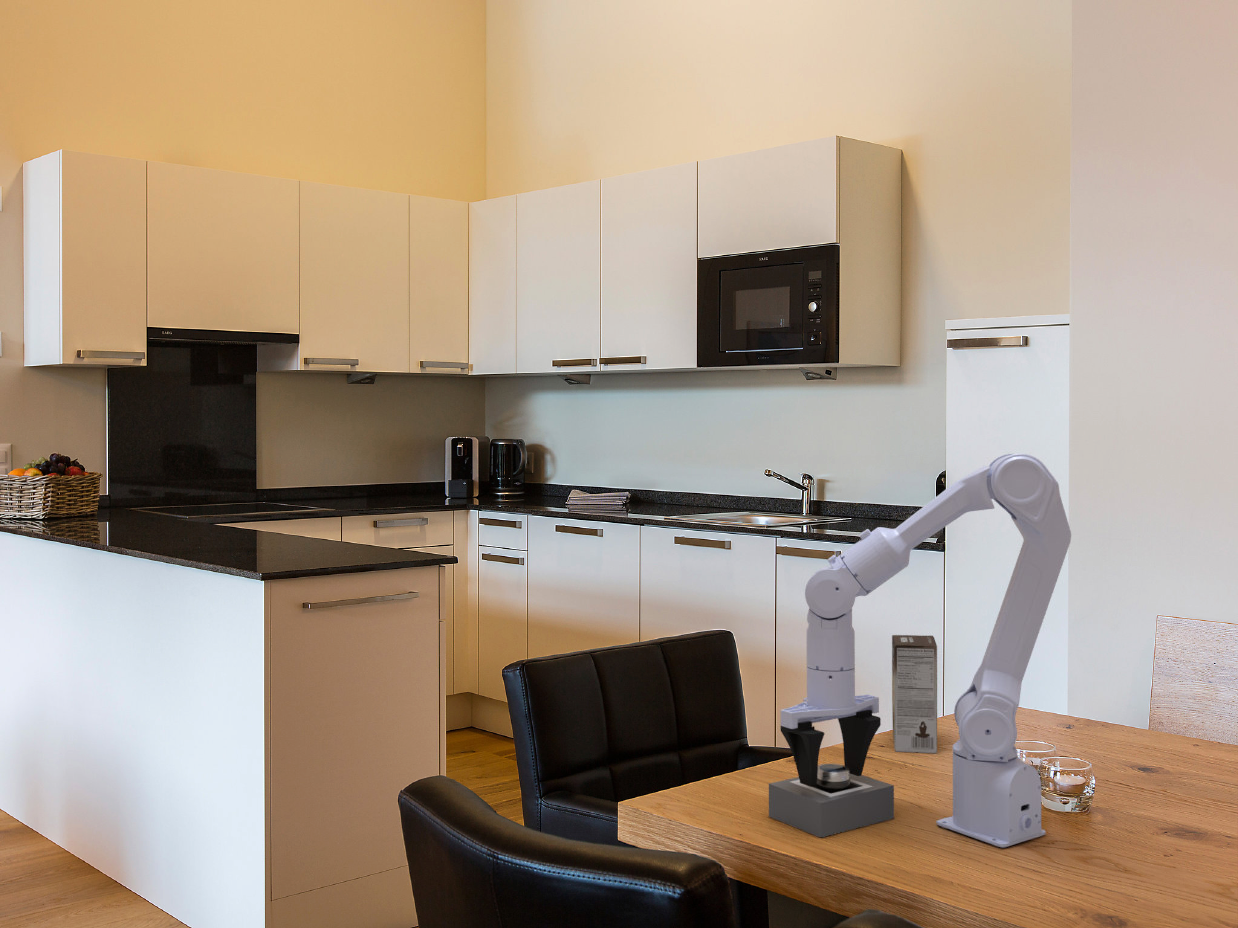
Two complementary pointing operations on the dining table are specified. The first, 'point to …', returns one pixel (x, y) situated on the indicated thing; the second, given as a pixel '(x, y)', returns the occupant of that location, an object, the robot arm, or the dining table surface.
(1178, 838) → the dining table surface
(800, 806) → the grey hollow block
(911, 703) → the coffee box
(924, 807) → the dining table surface
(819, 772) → the lens
